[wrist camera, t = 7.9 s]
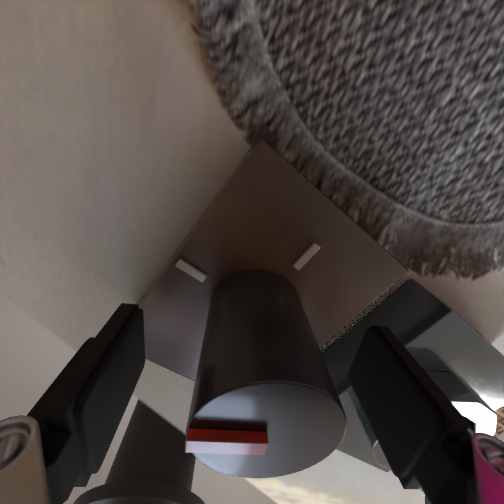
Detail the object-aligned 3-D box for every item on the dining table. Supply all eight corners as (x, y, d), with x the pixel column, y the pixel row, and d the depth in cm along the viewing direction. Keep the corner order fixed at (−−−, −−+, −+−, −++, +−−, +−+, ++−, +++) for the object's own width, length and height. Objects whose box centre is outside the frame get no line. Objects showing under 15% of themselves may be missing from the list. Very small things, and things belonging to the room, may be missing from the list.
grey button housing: (366, 428, 21) (401, 505, 17) (284, 384, 18) (299, 463, 14) (488, 346, 18) (575, 416, 13) (411, 277, 15) (487, 336, 10)
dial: (310, 275, 11) (378, 400, 6) (288, 347, 13) (324, 493, 7) (214, 264, 10) (187, 387, 5) (205, 339, 12) (179, 490, 7)
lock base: (249, 366, 17) (251, 410, 14) (135, 307, 15) (110, 346, 12) (375, 246, 14) (412, 272, 11) (256, 140, 11) (262, 138, 8)
